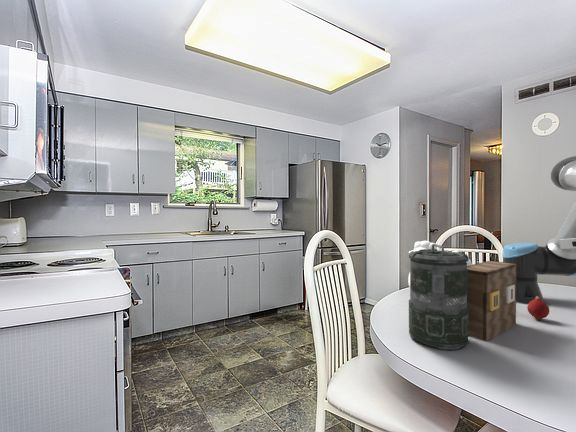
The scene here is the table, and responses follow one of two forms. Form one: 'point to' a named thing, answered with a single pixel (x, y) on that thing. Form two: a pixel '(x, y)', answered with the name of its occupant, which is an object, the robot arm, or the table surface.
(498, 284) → the console
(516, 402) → the table surface
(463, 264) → the canister
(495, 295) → the button two
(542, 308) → the onion
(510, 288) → the button one
